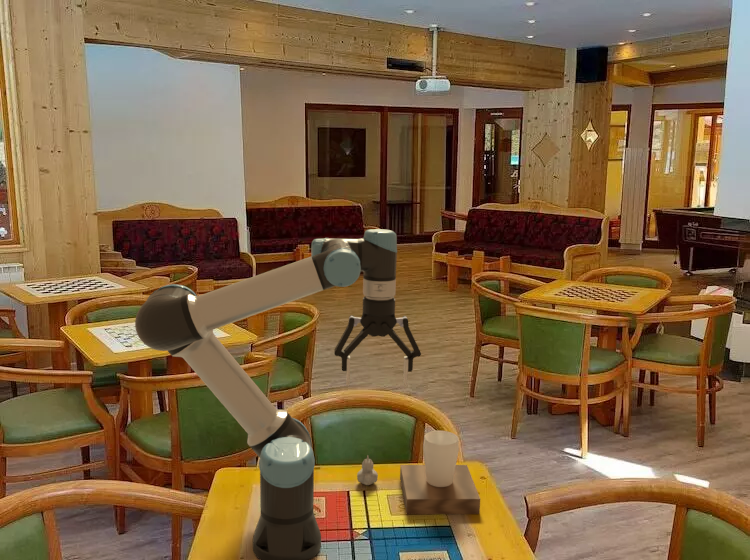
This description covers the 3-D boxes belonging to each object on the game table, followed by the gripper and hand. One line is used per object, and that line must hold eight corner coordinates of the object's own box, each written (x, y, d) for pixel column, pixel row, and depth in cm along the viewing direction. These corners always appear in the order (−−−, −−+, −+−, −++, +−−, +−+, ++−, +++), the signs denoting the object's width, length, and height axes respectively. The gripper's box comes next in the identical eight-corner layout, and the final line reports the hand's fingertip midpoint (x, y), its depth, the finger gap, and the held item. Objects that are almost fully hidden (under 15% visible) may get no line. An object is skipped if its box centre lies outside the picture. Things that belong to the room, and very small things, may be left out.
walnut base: (406, 514, 166) (407, 499, 165) (400, 478, 183) (400, 464, 183) (479, 513, 167) (480, 499, 166) (466, 478, 184) (466, 464, 184)
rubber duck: (377, 478, 183) (377, 450, 182) (377, 490, 177) (378, 462, 175) (357, 478, 183) (357, 450, 182) (357, 490, 177) (357, 462, 175)
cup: (455, 491, 169) (457, 446, 167) (419, 487, 171) (421, 442, 168) (458, 475, 178) (460, 432, 175) (424, 471, 179) (426, 428, 177)
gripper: (324, 299, 152) (323, 389, 157) (435, 301, 154) (431, 389, 158) (325, 292, 160) (324, 378, 164) (430, 293, 161) (426, 378, 165)
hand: (376, 384), depth 161 cm, fingers open, 13 cm apart
